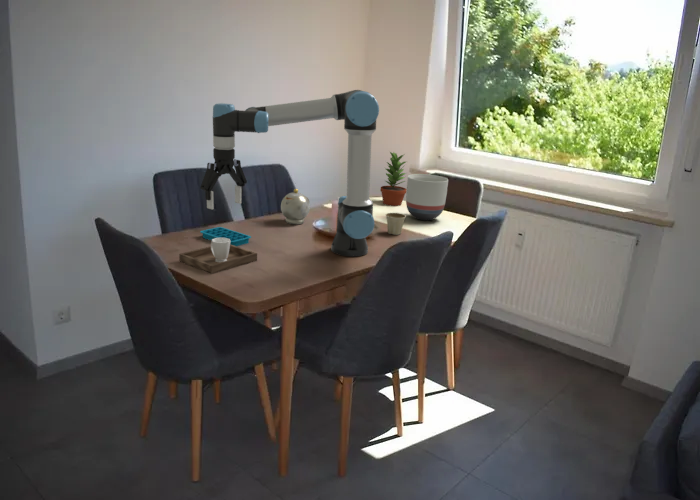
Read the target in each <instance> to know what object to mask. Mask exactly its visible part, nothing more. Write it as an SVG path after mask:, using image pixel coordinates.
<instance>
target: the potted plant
mask: <svg viewBox="0 0 700 500" xmlns="http://www.w3.org/2000/svg"><path fill="white" fill-rule="evenodd" d="M388 151H389V153H390V156H391V157H389V160H390V162H391V163H390V162H388V161H387V162H386V163H387V166H388V168H386V167H384V168H385V170H386V171H387V172H388V173H387V172H385V175H386V176H387V177H388V178H387V180H385V183H387V184H388V185H382V186H380V192H381V197H382V203H383V204H384V205H385V204H386V206H390V205H391V206H390V207H392V206H393V207H399V206H401V205H402V203H403V200H404V198H405V195H406V192H407V187H406V188H405V187H403V186H399V185H400V184H403V183H404V182H406V180H404V181H401V180H403V179H405V178H406V176H405V175H406V174H407V172H406V173H405V172H403V171H404V167H405V165H404V164H405V163H407V161H402V162H400V160H401V159H402V158H403V157H404V156H405V154H402V155H400V156H398V153H396V152H395V151H393V152H392V151H390V150H388ZM401 166H402V167H401ZM399 181H400V182H399ZM397 185H398V186H397ZM398 205H399V206H398Z"/></svg>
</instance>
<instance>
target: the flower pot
mask: <svg viewBox="0 0 700 500" xmlns="http://www.w3.org/2000/svg"><path fill="white" fill-rule="evenodd" d="M385 217H386V225H387V233H388V234H389V235H394V236H397V235H398V236H399V235H401V234H402V230H403V228H404V227H403V225H404V223H405V219H406V217H407V215H406V214H403V213H400V212H387V213H386V214H385Z"/></svg>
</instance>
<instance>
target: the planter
mask: <svg viewBox="0 0 700 500" xmlns="http://www.w3.org/2000/svg"><path fill="white" fill-rule="evenodd" d="M448 186H449V179H448V177H445V176H439V175H435V174H426V173H425V174H424V173H413V174H409V175H407V179H406V189H407V190H406V194H405V195H406V197H405V198H406V199H405V203H406V209H407V212H408V213H409V214H410V215H411V216H412V217H414V218H415V219H417V220H420V221H433V220H435V219H436V218H438V217H440V215H441V214H442V213H443V211H444V209H445V205H446V199H447V194H448Z"/></svg>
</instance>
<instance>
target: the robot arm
mask: <svg viewBox="0 0 700 500" xmlns="http://www.w3.org/2000/svg"><path fill="white" fill-rule="evenodd" d="M379 113H380V105H379V102H378V101H377V99H376V98H375V96H374V95H373V94H371V93H370V92H368V91H366V90H365V91H364V90H362V89H353V90H350V91H346V92H342V93H335V94H332V96H331V97H326V98H319V99H318V98H317V99H310V100H305V101H304V100H302V101H295V102H288V103H281V104H272V105H265V106H264V105H263V106H257V107H256V106H251V107H248V108H246V109H244V110H238V109H236V107H235V104H233V103H223V102H221V103H215V104H214V105H213V106H212V136H213V138H212V139H213V140H212V141H213V142H212V145H213V147H214V148H213V150H212V152H213V153H212V155H213V159H214V163H213V162H207V163H206V171H205V174H204V175H203V179H202V182H201V184H200V188H199V189H200V190H203V191H204V192H205V193H204V194H205V198H204V199H205V200H206V208H207V209H209V210H214V207H215V205H214V203H215V202H214V191H212V190H213V189H214V187H215V185H216V183H217V182H218V180H219V179H220V177H221V176H222V175H226V174H228V175H230V177H231V179H232V180H233V181H234V183H235V184H236V185H234V203H236V204H239V205H240V204H242V195H243V192H244V191H243V188H244V187H245V185H246V184H247V183H248V182H247V181H248V180H247V178H246V176H245V173H244V171H243V168H242V166H241V160H240V159H235V158H236V157H235V156H236V155H235V153H236V152H235V151H236V150H235V146H236V143H235V142H236V141H235V138H236V137H235V132H237V133H238V132H239V133H240V132H241V133H257V134H261V133H264V134H266V133H268V131H269V127H274V126H282V125H288V124H289V125H290V124H296V123H297V124H298V123H305V122H311V121H312V122H313V121H320V120H329V119H334V120H336V121H341V120H344V130H345V132H347V136H348V137H347V170H346V171H347V172H346V176H347V177H346V195H342V196H339V198H338V200H337V201H338V202H337V220H336V222H337V223H336V232H335V235H334V238H333V240H332V242H331V246H330V247H331V249H330V251H331V252H332V253H334V254H336V255H339V256H343V257H362V255H363V256H365V255H367V254H368V253H369V245H368V242H367V237H368V236H369V235H371V234H372V232H373V231H374V229H375V219H374V213H373V212H374V211H373V210H374V201H372V200H371V198H370V187H371V186H370V185H371V162H372V161H371V160H372V159H371V158H372V136H373V133H374V132H375V131H376V130H377V119H378V118H379Z"/></svg>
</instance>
